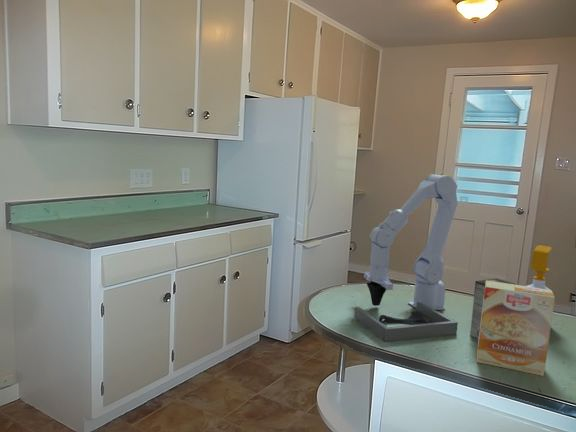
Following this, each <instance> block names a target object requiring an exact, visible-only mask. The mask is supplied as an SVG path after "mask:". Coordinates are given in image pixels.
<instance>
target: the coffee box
mask: <svg viewBox="0 0 576 432" xmlns="http://www.w3.org/2000/svg"><path fill="white" fill-rule="evenodd" d="M486 280H488V281H494V282H501V283H507V284H514V285H517V284H516V283H514V282H510V281H508V280H503V279H500V278H491V279H481V280H475V283H474V293H473V303H472V312H471V313H472V314H471V320H470V321H471V322H470V323H471V324H470V332H469V335H470V336H471V337H475V338H476V339H479V330H480V323H481V315H482V307H483V298H484V290H485V283H486Z"/></svg>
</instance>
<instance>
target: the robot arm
mask: <svg viewBox="0 0 576 432" xmlns="http://www.w3.org/2000/svg"><path fill="white" fill-rule="evenodd" d="M457 188H458V184H457V183H456V181H455V180H454V178H453V177H452V176H449V175H440V174H435V173H431V174H429V175H427V176H426V177H425V179H424V180H422V181H420V183H419V185H418V187H417V189H415V191H414V192H413V193H412V194H411V196H409V198H408V199H407V200H406V202H405V203H404V204H403V205H402V206H401V207H400V208H399V209H393V211H392V210H391V211H389V212H388V216H387V217H386V218H385V220H383V221H382V222H380V223H379V224H378V226H377V227H374V228H373V229H372V230H371V232H370V233H369V236H368V237H369V239H370V241H371V249H370V262H369V263H370V264H369V271H364V274H363V278H364V279H365V280H366V281H368V282H366V286H367V288H368V291H369V293H370V298H371V304H372V305H373V306H374V307H375V306H380V305H381V302H382V299H383V297H384V295H385V293H386V291H391V290H393V287H394V286H393V285H394V284H393V283H392V282H391V281H390V280H389V278H388V273H389V272H388V271H389V260H390V259H389V258H390V247H391V245H393V243H394V241H395V236H396V235H397V234H398V233H399V232H400V231H401V230H402V229H403V228H404V227H405V226H406V224H407V223H408V222H409V216H410V215H411V214H412V213H413V212H414V211H416V210H417V209H418V207H420V205H422V203H424V202H425V201H426V200H428V199H433V198H434V200H435V202H436V204H437V205H438V206H437V210H436V213H435V216H434V220H433V223H432V226H431V230H430V232H429V236H428V239H427V242H426V246H425V249H424V250H423V251H422V252H421V253H420V254H419V255H418V258H417V259H416V260H415V262H414V263H413V266H412V268H413V269H412V270H413V273H414V274H415V284H414V296H413V301H408V302H407V304H408V305H410V306H412V307H414V308H415V309H416V306H417V302H421V303H423V304H425V305H426V306H428V307H430V308H432V309H434V310H436V311H438V310H440V311H441V310H446V307H445V300H446V286H445V284H444V282H443V281H441V280H442V279H443V276H444V264H445V263H444V260H443V256H442V255H443V251H444V248H445V245H446V242H447V239H448V236H449V232H450V230H451V226H452V222H453V219H454V217H455V213H456V210H457V207H458V197H457Z"/></svg>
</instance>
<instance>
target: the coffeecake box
mask: <svg viewBox="0 0 576 432" xmlns="http://www.w3.org/2000/svg"><path fill="white" fill-rule="evenodd" d="M485 280H486V283H485V290H484V298H483V307H482V315H481V323H480V330H479V339H478V338H477V339H478V340H477V341H478V342H477V347H476V348H477V350H476V363H480V364H485V365H490V366H495V367H500V368H504V369H508V370H512V371H518V372H523V373H528V374H532V375H537V376H541V377H544V376H545V371H546V364H547V357H548V356H547V355H548V350H549V343H550V335H551V328H552V323H553V321H552V320H553V314H554V308H555V298H556V297H555V295H553V294H554V292H553V290H552V289H550V290H548V289H549V288H548V289H541V288H534V287H528V286H527V285H520V284H516V285H514V284H515V283H514V284H507V283H501V282H494V281H488V279H485Z"/></svg>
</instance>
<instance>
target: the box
mask: <svg viewBox="0 0 576 432" xmlns="http://www.w3.org/2000/svg"><path fill="white" fill-rule="evenodd" d="M415 309H416V310H415V311H416V312H417V313H419V314H420V315H421V316H422V317H423V318H425V319H426V320H427V321H428V322H429V323H427V324H423V323H420V324H417V325H412V324H407V325H398V326H397V325H396V326H387V325H386V324H385V323H381V322H380V321H379V319H377V318H375V317H374V316H372V315H371V314H370V313H368V312H367V311H365V310H364V309H362V308H361V307H360V306H355V307H354V315H353V316H354V319H355V320H356V321H357V322H359V323H360V324H361V325H363V326H364V327H365V328H367V329H368V330H369V331H371V332H372V333H373V334H375V336H377V337H379V339H381V340H382V341H384V342H385V343H386V342H394V341H404V340H412V339H413V340H414V339H424V338H432V337H440V336H441V337H442V336H450V335H451V336H452V335H457V334H458V333H457V332H458V324H459V323H458V321H456V320H454V319H452V318H450V317H448V316H447V315H445V314H443V313H441V312H439V311H438V310H434V309H432V308H430V307H428V306H426V305H425V304H423V303H421V302H417V306H416V308H415Z"/></svg>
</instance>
